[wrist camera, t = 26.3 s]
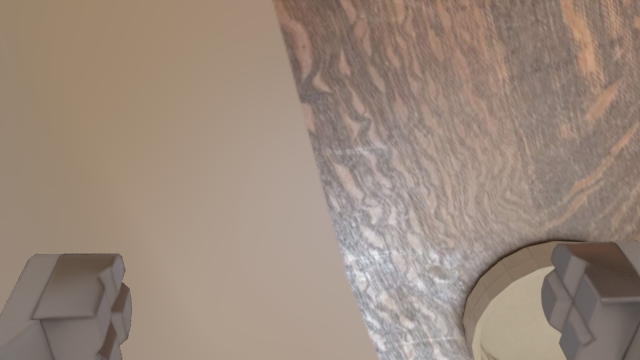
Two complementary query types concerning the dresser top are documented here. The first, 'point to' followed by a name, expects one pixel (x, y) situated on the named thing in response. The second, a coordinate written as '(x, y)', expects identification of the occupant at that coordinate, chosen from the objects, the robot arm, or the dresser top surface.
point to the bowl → (513, 310)
